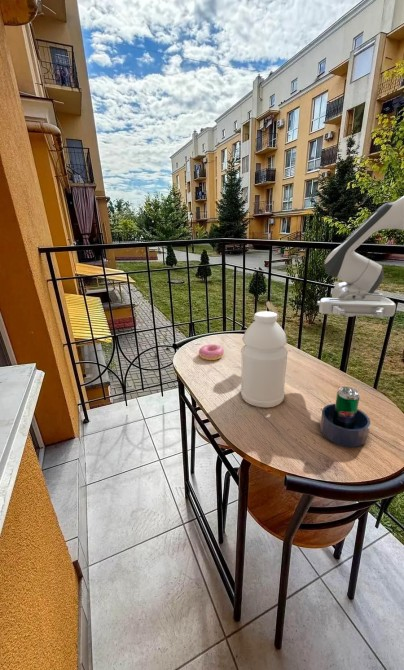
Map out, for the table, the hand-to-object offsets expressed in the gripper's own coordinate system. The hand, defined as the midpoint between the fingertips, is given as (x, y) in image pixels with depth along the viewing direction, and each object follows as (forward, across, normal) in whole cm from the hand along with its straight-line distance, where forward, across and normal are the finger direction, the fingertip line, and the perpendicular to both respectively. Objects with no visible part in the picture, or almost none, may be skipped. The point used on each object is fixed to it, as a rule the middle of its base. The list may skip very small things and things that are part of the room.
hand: (360, 314), depth 78 cm
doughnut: (-23, -50, +28) cm, 62 cm away
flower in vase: (-22, -26, +28) cm, 44 cm away
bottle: (+4, -26, +28) cm, 38 cm away
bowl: (+16, -3, +28) cm, 33 cm away
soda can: (+16, -3, +28) cm, 32 cm away
